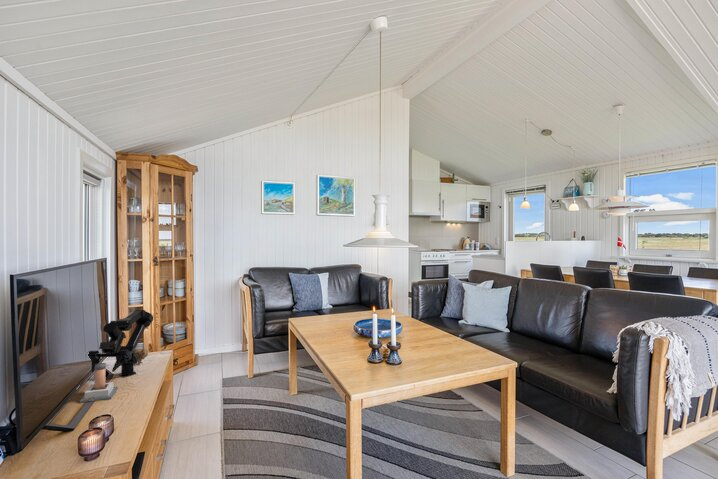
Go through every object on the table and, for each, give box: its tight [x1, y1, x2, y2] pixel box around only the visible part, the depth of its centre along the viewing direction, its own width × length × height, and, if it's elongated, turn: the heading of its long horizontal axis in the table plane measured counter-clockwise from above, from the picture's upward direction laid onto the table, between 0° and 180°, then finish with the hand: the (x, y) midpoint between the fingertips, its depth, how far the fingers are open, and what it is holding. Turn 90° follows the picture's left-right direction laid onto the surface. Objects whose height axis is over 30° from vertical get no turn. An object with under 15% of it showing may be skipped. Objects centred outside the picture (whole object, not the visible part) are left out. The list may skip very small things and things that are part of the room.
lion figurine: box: [136, 348, 150, 366], centre depth 209 cm, size 15×5×9 cm, turn 96°
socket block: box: [79, 381, 119, 404], centre depth 169 cm, size 12×12×4 cm
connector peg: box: [94, 362, 107, 390], centre depth 169 cm, size 4×4×14 cm
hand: (102, 371), depth 171 cm, fingers open, 9 cm apart
